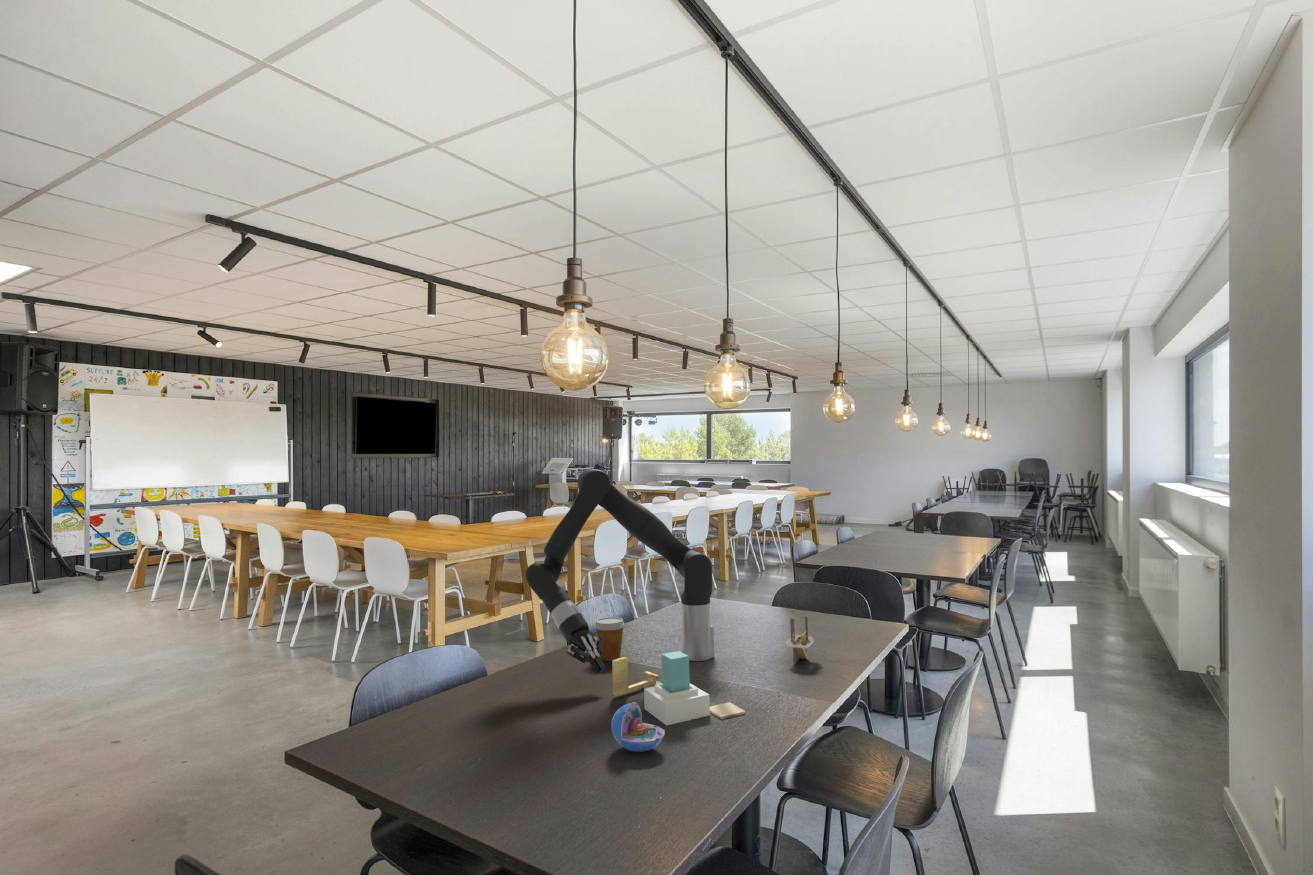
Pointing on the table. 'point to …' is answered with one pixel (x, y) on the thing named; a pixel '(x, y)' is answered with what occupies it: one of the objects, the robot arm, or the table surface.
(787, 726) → the table surface
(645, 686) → the key socket
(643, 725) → the cell model
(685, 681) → the teal upright prism
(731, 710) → the pad
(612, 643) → the disposable coffee cup
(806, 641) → the two-pronged ringed stand
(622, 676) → the key lever
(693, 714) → the housing
